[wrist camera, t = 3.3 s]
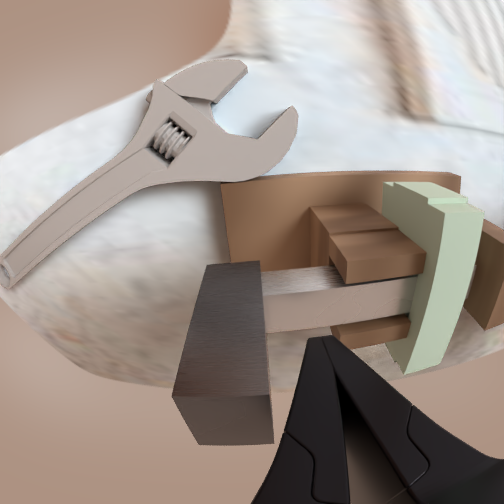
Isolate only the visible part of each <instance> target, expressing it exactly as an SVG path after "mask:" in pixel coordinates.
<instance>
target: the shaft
mask: <svg viewBox="0 0 504 504" xmlns="http://www.w3.org/2000/svg"><path fill="white" fill-rule="evenodd" d="M476 267H477V266H476V265H474V269H473V273H472V277H471V280H470V284H469V287H468V291H467V294H466V297H465V299H466V298H468V295H469V292H470V289H471V285H472V282H473V278H474V274H475V271H476ZM417 278H418V274H415V275H408V276H402V277H395V278H388V279H381V280H374V281H367V282H359V283H351V284H346V283H345V282H344V280H343V278H342V276H341V275H340V273H339V271H338V269H337V268H336V266H335V265H329V266H320V267H310V268H300V269H290V270H280V271H269V272H261V266H260V260H257V261H246V262H235V263H224V264H212V265H207V266H206V270H205V273H204V277H203V280H202V283H201V287H200V290H199V294H198V297H197V301H196V304H195V308H194V312H193V315H192V319H191V323H190V326H189V330H188V334H187V337H186V341H185V345H184V349H183V353H182V356H181V360H180V364H179V368H178V372H177V376H176V380H175V384H174V388H173V393H172V398H173V400H174V402H175V404H176V405H177V407H178V409H179V411H180V413H181V415H182V417H183V418H184V420H185V422H186V424H187V426H188V427H189V429H190V431H191V432H192V434H193V436H194V437H195V439H196V441H197V443H198V444H199V445H258V444H259V445H260V444H274V432H273V418H272V404H271V389H270V375H269V361H268V347H267V334H266V333H273V332H283V331H293V330H302V329H310V328H318V327H326V326H333V325H340V324H346V323H353V322H359V321H365V320H371V319H377V318H382V317H387V316H393V315H398V314H403V313H408V312H410V309H411V305H412V301H413V297H414V292H415V288H416V283H417Z"/></svg>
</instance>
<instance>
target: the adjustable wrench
mask: <svg viewBox="0 0 504 504" xmlns="http://www.w3.org/2000/svg"><path fill="white" fill-rule="evenodd" d="M246 73H248V70H247V66H246V65H245V64H244V63H243V62H241V61H240V60H230V59H225V60H213V61H208V62H203V63H200V64H197V65H194V66H192V67H190V68H187V69H185V70H183V71H182V72H180V73H178V74H176V75H175V76H173V77H172V78H170V79H169V80H167V81H166V82H165V83H164V82H162V81H160V80H158V79H156V81H155V82H154V84H153V90H152V91H151V92H149V93H148V95H147V97H146V101H147V102H149V103H150V106H149V109H148V111H147V113H146V115H145V117H144V119H143V121H142V123H141V125H140V127H139V129H138V131H137V133H136V134H135V136H134V137H133V139H132V140H131V142H130V143H129V144H128V145H127V146H126V147H125V148H124V149H123V150H122V151H121V152H120V153H119V154H118V155H117V156H115V157H114V158H113V159H112V160H110V161H109V162H108V163H106V164H105V165H103V166H102V167H100V168H99V169H98V170H96V171H95V172H94V173H92V174H91V175H89V176H88V177H87V178H85V179H84V180H83V181H82V182H80V183H79V184H78V185H76V186H75V187H74V188H73V189H71V190H70V191H69V192H68V193H66V194H65V195H64V196H63V197H61V198H60V199H59V200H58V201H57V202H56V203H54V204H53V205H52V206H51V207H50V208H49V209H47V210H46V211H45V212H44V213H43V214H42V215H41V216H40V217H38V218H37V219H36V220H35V221H34V222H33V223H32V224H31V225H30V226H29V227H28V228H27V229H26V230H25V231H24V232H23V233H22V234H21V235H20V236H19V237H18V238H17V239H16V240H15V241H14V242H13V243H12V244H11V245H10V246H9V247H8V248H7V249H6V250H5V251H4V252H3V253H2V254H1V256H0V284H1V285H2V286H3V287H4V288H6V289H10V288H11V287H12V286H13V285H15V284H16V283H17V282H18V281H19V280H20V279H21V278H22V277H23V276H24V275H26V274H27V273H28V272H29V271H30V270H31V269H32V268H33V267H35V266H36V265H37V264H38V263H39V262H40V261H42V260H43V259H44V258H45V257H46V256H48V255H49V254H50V253H51V252H52V251H54V250H55V249H56V248H57V247H59V246H60V245H61V244H62V243H64V242H65V241H66V240H67V239H69V238H70V237H71V236H73V235H74V234H75V233H77V232H78V231H79V230H81V229H82V228H83V227H85V226H86V225H87V224H89V223H90V222H91V221H93V220H94V219H96V218H97V217H98V216H100V215H101V214H103V213H104V212H106V211H107V210H108V209H110V208H111V207H113V206H114V205H116V204H117V203H119V202H120V201H122V200H123V199H125V198H126V197H128V196H129V195H131V194H132V193H134V192H136V191H138V190H140V189H142V188H146V187H149V186H153V185H157V184H165V183H173V182H182V181H224V182H238V181H245V180H249V179H252V178H255V177H258V176H261V175H263V174H264V173H266V172H268V171H269V170H270V169H272V168H273V167H274V166H275V165H276V164H278V163H279V162H280V161H281V160H282V159H283V157H284V156H285V155H286V153H287V152H288V151H289V149H290V146H291V144H292V142H293V140H294V138H295V136H296V133H297V124H298V114H297V111H296V109H295V108H294V107H293V106H291V107H289V108H288V109H287V110H286V111H285V112H284V113H283V114H282V115H281V116H280V117H279V118H278V119H277V120H276V121H275V122H274V123H273V124H272V125H271V126H270V127H269V128H268V129H267V130H266V131H265V132H264V133H263V134H262V135H261V136H260V137H259V138H258V139H254V138H249V137H244V136H239V135H234V134H228V133H227V132H226V131H225V130H223V129H222V128H221V127H220V126H219V125H218V124H217V123H216V122H215V120H214V118H213V114H212V110H211V105H210V104H211V103H212V102H213V103H218V102H219V101H220V100H221V99H222V98H223V97H224V96H225V95H226V94H227V92H228V91H229V90H230V89H231V88H232V87H233V86H234V85H235V84H236V83H237V82H238V81H239V80H240V79H241V78H242V77H243V76H244V75H245V74H246ZM174 125H176V126H177V127H176V128H175V127H174ZM180 129H181V130H182V132H180V131H179V130H180ZM185 134H187V135H188V137H186V136H184V135H185ZM189 135H190V136H189ZM191 138H192V139H191ZM153 145H154V146H153ZM152 146H153V147H154V148H153V147H152ZM159 148H160V150H159V152H157V151H156V150H155V149H159ZM160 153H161V154H164V153H166V154H165V157H163V156H162V155H161V154H160ZM172 156H173V157H174V158H175V159H174V160H173V161H172V162H169V161H168V160H167V159H169V158H171V157H172ZM3 266H4V267H5V269H6V270H7V272H8V274H9V276H8V275H7V274H6V272H5V270H4V267H3Z"/></svg>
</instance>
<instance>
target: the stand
mask: <svg viewBox="0 0 504 504" xmlns="http://www.w3.org/2000/svg"><path fill="white" fill-rule="evenodd" d="M383 182H432V183H434V184H437V185H439V186H442V187H444V188H446V189H449V190H451V191H454V192H456V193H458V194H460V184H461V176H458V175H455V174H452V173H448V172H427V171H336V172H314V173H297V174H282V175H270V176H258V177H255V178H252V179H249V180H245V181H238V182H224V181H222V182H221V184H220V186H221V193H222V201H223V209H224V216H225V223H226V231H227V238H228V245H229V252H230V259H231V263H235V262H246V261H257V260H260V266H261V272H269V271H280V270H290V269H300V268H310V267H320V266H329V265H335V266H336V268H337V269H338V271H339V273H340V275H341V276H342V278H343V280H344V282H345V283H346V284H351V283H359V282H367V281H374V280H381V279H388V278H395V277H402V276H408V275H415V274H421V273H423V270H424V265H425V260H426V254H427V252H426V251H425V250H423V249H422V248H421V247H420V246H418V245H417V244H416V243H415V242H414V241H412V240H411V239H410V238H409V237H407V236H406V235H405V234H404V233H402V232H401V231H400V230H399V227H398V226H396V225H395V224H394V223H392V222H391V221H390V220H388V219H387V218H386V217H384V216H383V215H382V198H383ZM475 265H476V266H477V267H476V271H475V274H474V278H473V282H472V285H471V289H470V292H469V295H468V298H466V299H465V300H464V303H463V307H464V308H465V309H466V310H467V311H468V312H469V313H470V315H471V316H472V317H473V318H474V319H475V320H476V321H477V322H478V323H479V325H480V326H481V327H482V328H483V329H484V330H488V329H490V328H493V327H495V326H497V325H500V324H502V323H504V230H503V229H501V228H499V227H498V226H496V225H494V224H492V223H491V222H489V221H487V220H485V219H483V226H482V231H481V237H480V242H479V247H478V252H477V256H476V261H475ZM410 325H411V322H410V320H409V319H408V317H407V316H406V314H405V313H403V314H398V315H393V316H387V317H382V318H377V319H371V320H365V321H359V322H353V323H346V324H340V325H333V326H330V329H331V331H332V334H333V336H335V337H336V338H337V339H338V340H339V341H341V342H342V343H343V344H344V345H345V346H346V347H347V348H349V349H355V348H361V347H366V346H371V345H376V344H381V343H386V342H390V341H395V340H399V339H404V338H407V335H408V332H409V329H410Z"/></svg>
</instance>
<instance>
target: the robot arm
mask: <svg viewBox="0 0 504 504" xmlns="http://www.w3.org/2000/svg"><path fill="white" fill-rule="evenodd" d="M251 504H504V459H497V458H493V457H489V456H487V455H485V454H483V453H481V452H479V451H478V450H476V449H474V448H473V447H471V446H470V445H468V444H466V443H465V442H463V441H462V440H460V439H459V438H457V437H455V436H454V435H452V434H451V433H449V432H448V431H446V430H445V429H443V428H442V427H440V426H439V425H438V424H436V423H435V422H434V421H433V420H431V419H430V418H429V417H427V416H426V415H425V414H424V413H422V412H421V411H420V410H419V409H418V408H417V407H416V406H414V405H413V406H412V403H411V402H410V401H408V400H407V399H406V398H405V397H404V396H403V395H401V394H400V393H399V392H398V391H397V390H396V389H394V388H393V387H392V386H391V385H390V384H389V383H388V382H386V381H385V380H384V379H383V378H382V377H381V376H380V375H378V374H377V373H376V372H375V371H374V370H373V369H371V368H370V367H369V366H368V365H367V364H366V363H365V362H363V361H362V360H361V359H360V358H359V357H358V356H357V355H355V354H354V353H353V352H352V351H351V350H350V349H349V348H347V347H346V346H345V345H344V344H343V343H342V342H341V341H339V340H338V339H337V338H336V337H335V336H333V335H328V336H321V337H313V338H309V339H308V340H307V344H306V349H305V353H304V357H303V362H302V366H301V370H300V374H299V378H298V382H297V385H296V389H295V393H294V397H293V400H292V404H291V408H290V411H289V415H288V418H287V422H286V425H285V429H284V433H283V434H282V438H281V441H280V444H279V447H278V450H277V453H276V455H275V458H274V461H273V463H272V465H271V467H270V469H269V471H268V474H267V475H266V477H265V480H264V482H263V483H262V485H261V487H260V488H259V490H258V492H257V494H256V495H255V497H254V499H253V501H252V502H251Z"/></svg>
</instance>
